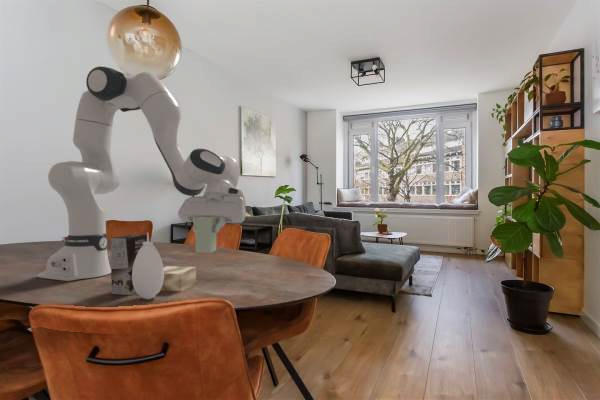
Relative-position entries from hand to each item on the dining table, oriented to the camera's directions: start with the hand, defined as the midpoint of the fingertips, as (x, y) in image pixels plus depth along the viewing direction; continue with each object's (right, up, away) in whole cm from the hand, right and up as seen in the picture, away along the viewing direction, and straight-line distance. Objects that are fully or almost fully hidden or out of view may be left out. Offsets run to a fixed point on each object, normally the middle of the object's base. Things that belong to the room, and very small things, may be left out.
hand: (205, 231), depth 101 cm
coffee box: (-22, -18, +1) cm, 28 cm away
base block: (-11, -17, +6) cm, 21 cm away
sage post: (0, -6, +1) cm, 6 cm away
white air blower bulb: (-14, -18, -7) cm, 23 cm away
